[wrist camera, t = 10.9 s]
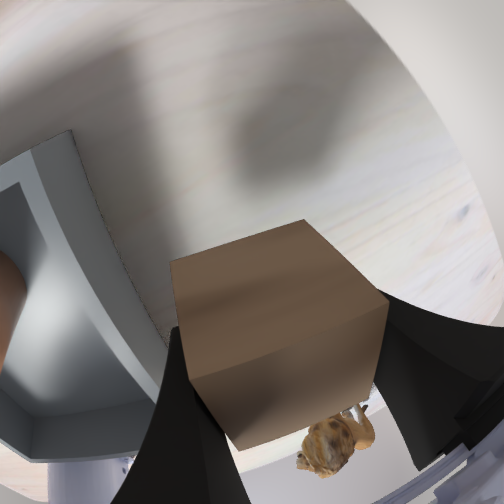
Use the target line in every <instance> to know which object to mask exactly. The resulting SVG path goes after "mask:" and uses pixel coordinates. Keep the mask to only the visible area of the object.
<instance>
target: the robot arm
mask: <svg viewBox="0 0 504 504" xmlns="http://www.w3.org/2000/svg"><path fill="white" fill-rule="evenodd" d="M378 290H379V289H378ZM379 291H380V293H381V294H382V295H383V296H384V297H385V298H386V299H387V300H388V301H389V308H388V314H387V320H386V325H385V330H384V335H383V340H382V345H381V350H380V354H379V359H378V363H377V367H376V371H375V375H374V379H373V382H374V383H375V385H376V387H377V389H378V390H379V392H380V394H381V395H382V397H383V399H384V401H385V402H386V404H387V406H388V408H389V410H390V412H391V414H392V415H393V418H394V419H395V421H396V424H397V426H398V428H399V430H400V432H401V434H402V436H403V438H404V440H405V443H406V445H407V448H408V450H409V453H410V455H411V458H412V460H413V463H414V465H415V466H416V468H417V469H418V471H421V470H422V469H423V468H425V467H427V466H428V465H429V464H431V463H432V462H434V461H435V460H436V459H438V458H439V457H440V456H442V455H443V454H445V455H446V456H445V457H444V458H443V459H441V460H440V461H439V462H437V463H436V464H435V465H434V466H432V467H430V468H429V469H428V470H426V471H425V472H423V473H422V474H420V475H419V476H417V477H416V478H414V479H413V480H411V481H410V482H408V483H407V484H405V485H403V486H402V487H400V488H399V489H397V490H395V491H394V492H392V493H390V494H389V495H387V496H385V497H383V498H382V499H380V500H378V501H376V502H374V503H372V504H406V503H407V502H409V501H411V500H412V499H414V498H415V497H417V496H418V495H420V494H421V493H423V492H424V491H426V490H427V489H429V488H430V487H431V486H433V485H434V484H436V483H437V482H438V481H440V480H441V479H442V478H444V477H445V476H446V475H448V474H449V473H450V472H451V471H453V470H454V469H455V468H456V467H457V466H459V465H460V464H461V463H462V462H464V461H465V460H466V459H467V465H466V466H465V467H464V468H462V469H461V470H460V471H458V472H457V473H455V474H454V475H453V476H451V477H450V478H449V479H447V480H446V481H445V482H444V483H443V484H441V485H440V486H439V487H438V488H436V489H435V490H434V492H433V493H434V494H435V496H436V497H437V498H436V499H434V500H433V501H431V502H430V503H428V504H504V327H494V326H486V325H480V324H474V323H469V322H464V321H460V320H456V319H452V318H448V317H445V316H442V315H438V314H435V313H433V312H430V311H427V310H424V309H421V308H419V307H416V306H414V305H411V304H409V303H407V302H404V301H402V300H400V299H397V298H395V297H393V296H391V295H389V294H387V293H385V292H383V291H381V290H379ZM131 463H133V464H132V466H131V468H130V470H129V469H128V464H131ZM48 504H251V502H250V500H249V498H248V495H247V493H246V491H245V488H244V486H243V483H242V481H241V478H240V476H239V473H238V471H237V468H236V465H235V463H234V460H233V457H232V455H231V452H230V449H229V446H228V443H227V439H226V436H225V432H224V431H223V429H222V428H221V427H220V425H219V424H218V422H217V421H216V420H215V418H214V417H213V415H212V414H211V412H210V411H209V409H208V408H207V406H206V405H205V403H204V402H203V400H202V399H201V397H200V396H199V394H198V393H197V391H196V390H195V388H194V387H193V385H192V384H191V382H190V380H189V376H188V371H187V367H186V361H185V356H184V351H183V346H182V340H181V335H180V329H179V326H177V327H174V328H172V330H171V336H170V343H169V350H168V355H167V361H166V365H165V370H164V375H163V379H162V384H161V387H160V391H159V395H158V399H157V402H156V406H155V409H154V412H153V415H152V418H151V421H150V424H149V427H148V430H147V432H146V435H145V437H144V440H143V442H142V445H141V447H140V449H139V452H138V454H137V456H136V458H135V460H134V459H133V458H131V457H130V456H128V457H121V458H113V459H104V460H94V461H81V462H63V463H48Z"/></svg>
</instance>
